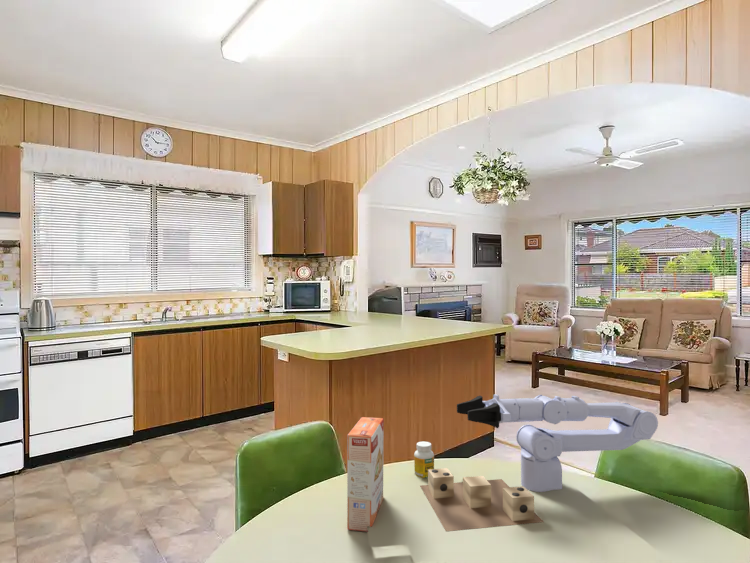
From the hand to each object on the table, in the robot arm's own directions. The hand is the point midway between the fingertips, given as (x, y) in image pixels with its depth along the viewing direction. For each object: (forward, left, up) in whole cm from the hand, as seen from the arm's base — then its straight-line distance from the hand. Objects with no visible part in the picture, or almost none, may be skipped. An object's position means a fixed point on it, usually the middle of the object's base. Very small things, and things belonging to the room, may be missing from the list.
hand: (462, 412), depth 116 cm
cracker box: (+25, +5, -21) cm, 33 cm away
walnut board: (-1, +6, -21) cm, 22 cm away
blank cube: (-1, +6, -20) cm, 21 cm away
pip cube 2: (-8, +13, -20) cm, 25 cm away
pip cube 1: (+6, 0, -20) cm, 21 cm away
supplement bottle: (+7, -12, -21) cm, 26 cm away
